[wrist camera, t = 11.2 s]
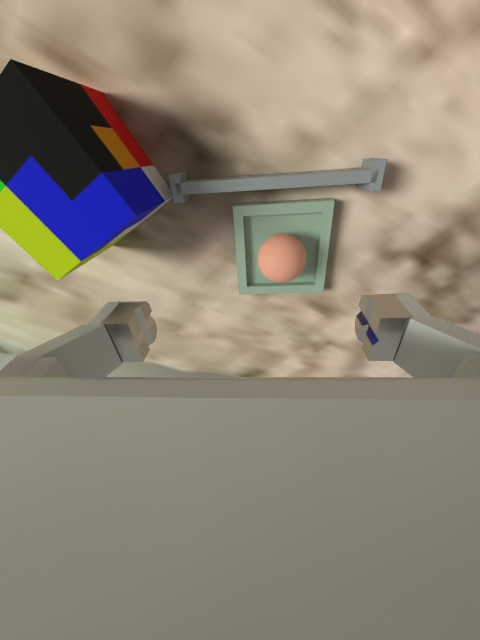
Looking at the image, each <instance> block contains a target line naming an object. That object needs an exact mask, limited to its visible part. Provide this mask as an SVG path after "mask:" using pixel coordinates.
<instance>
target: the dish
mask: <svg viewBox="0 0 480 640" xmlns="http://www.w3.org/2000/svg"><path fill="white" fill-rule="evenodd" d="M334 203H335V200H334V199H332V198H322V199H305V200H288V201H272V202H255V203H238V204H234V205H233V219H234V232H235V245H236V258H237V271H238V285H239V294H277V293H318V292H323V291H324V283H325V275H326V267H327V259H328V251H329V243H330V235H331V227H332V219H333V211H334ZM281 233H285V234H290V235H293V236H294V237H296V238H297V239H299V240H300V241H301V243H302V244H303V246H304V248H305V251H306V263H305V266H304V269H303V270H302V272H301V273H300V274H299V275H298V276H297V277H296V278H295V279H293V280H291V281H288V282H284V283H278V282H274V281H271V280H269V279H268V278H266V277H265V276H264V275H263V274H262V272H261V270H260V268H259V265H258V253H259V249H260V247H261V246H262V244H263V243H264V242H265V241H266V240H267V239H268V238H269V237H271V236H273V235H276V234H281Z"/></svg>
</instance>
